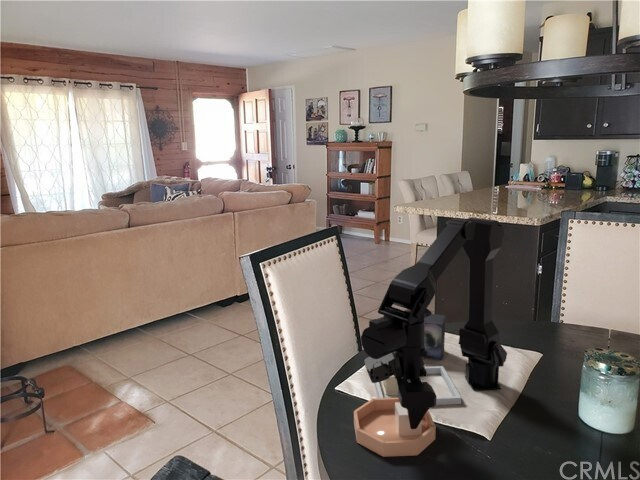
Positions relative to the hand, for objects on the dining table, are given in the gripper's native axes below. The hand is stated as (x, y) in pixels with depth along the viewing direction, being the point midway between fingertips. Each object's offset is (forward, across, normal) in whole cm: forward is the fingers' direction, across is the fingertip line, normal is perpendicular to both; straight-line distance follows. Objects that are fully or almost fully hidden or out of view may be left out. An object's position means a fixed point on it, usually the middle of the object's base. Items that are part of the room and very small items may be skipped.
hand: (408, 414), depth 94 cm
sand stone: (+4, -16, 0) cm, 16 cm away
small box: (+4, -34, +11) cm, 36 cm away
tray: (+4, -16, +4) cm, 17 cm away
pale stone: (+3, 0, 0) cm, 3 cm away
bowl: (+4, 0, -3) cm, 5 cm away
